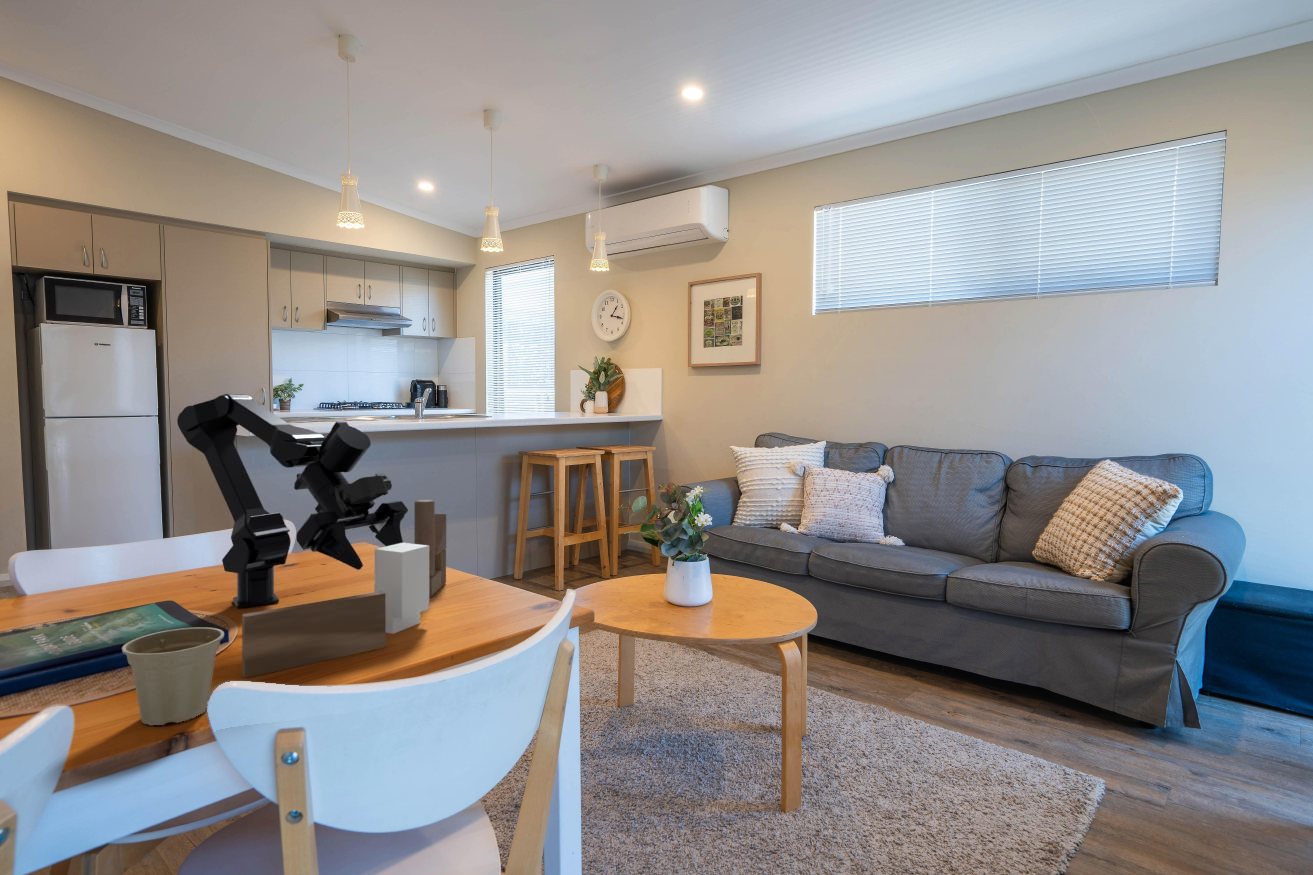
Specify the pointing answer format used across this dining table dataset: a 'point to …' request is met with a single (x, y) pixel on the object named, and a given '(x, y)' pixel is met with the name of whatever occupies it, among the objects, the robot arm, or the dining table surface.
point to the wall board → (312, 632)
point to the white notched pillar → (403, 583)
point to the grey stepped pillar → (431, 540)
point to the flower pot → (173, 672)
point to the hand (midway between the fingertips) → (383, 561)
